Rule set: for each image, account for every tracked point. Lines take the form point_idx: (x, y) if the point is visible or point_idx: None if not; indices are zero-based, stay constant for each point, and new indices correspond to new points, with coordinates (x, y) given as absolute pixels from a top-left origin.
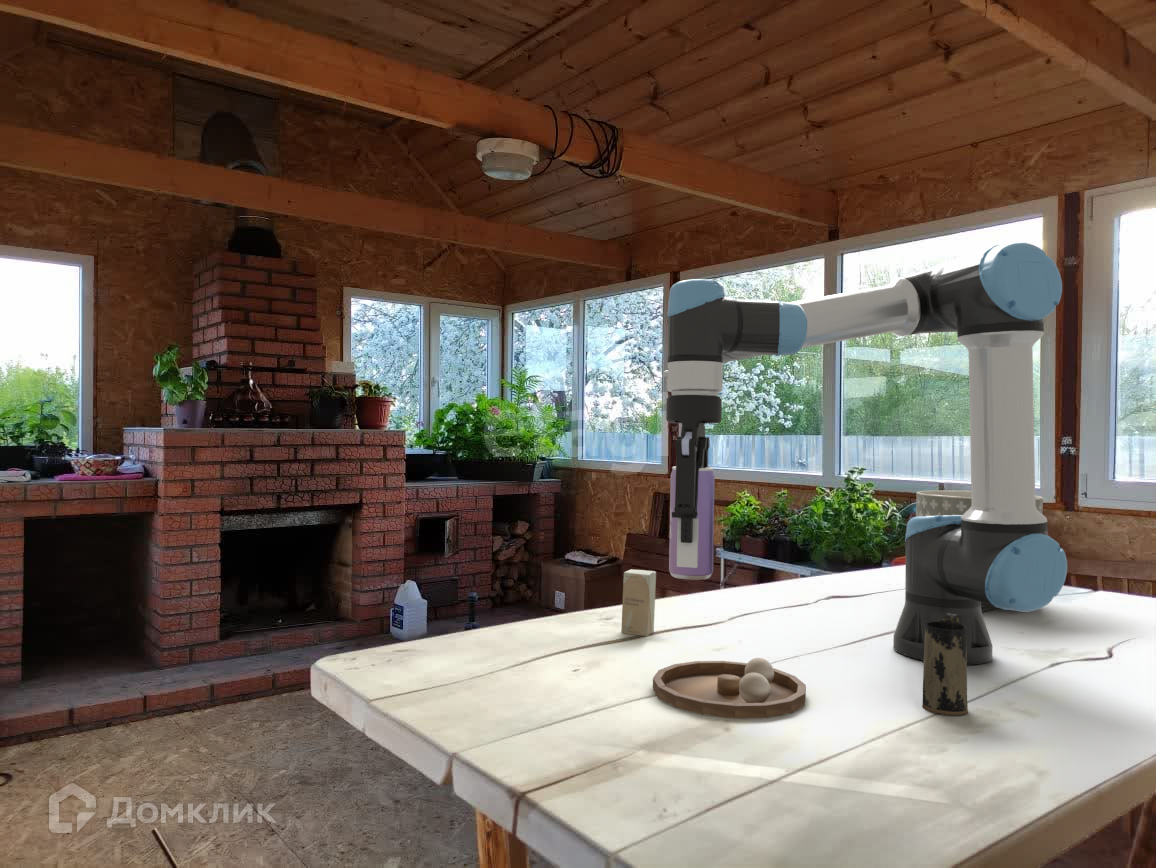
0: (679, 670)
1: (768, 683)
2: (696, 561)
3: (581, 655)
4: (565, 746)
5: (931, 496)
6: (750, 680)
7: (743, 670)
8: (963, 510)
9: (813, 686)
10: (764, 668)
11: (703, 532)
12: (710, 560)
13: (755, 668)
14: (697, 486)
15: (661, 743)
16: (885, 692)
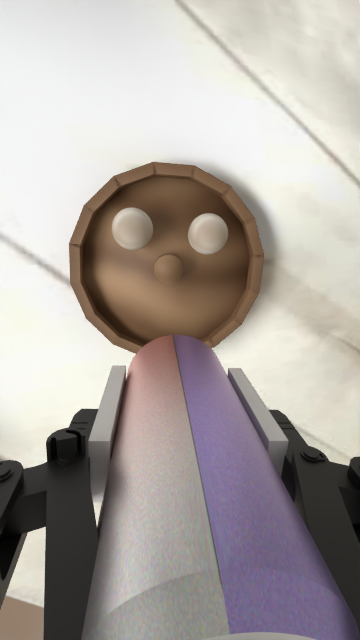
0: (118, 334)
1: (213, 215)
2: (244, 375)
3: (45, 456)
4: (333, 394)
5: None
6: (223, 239)
7: (81, 252)
8: None
9: (68, 150)
10: (147, 221)
11: (238, 399)
12: (199, 348)
13: (149, 234)
14: (352, 559)
15: (314, 320)
16: (57, 31)
